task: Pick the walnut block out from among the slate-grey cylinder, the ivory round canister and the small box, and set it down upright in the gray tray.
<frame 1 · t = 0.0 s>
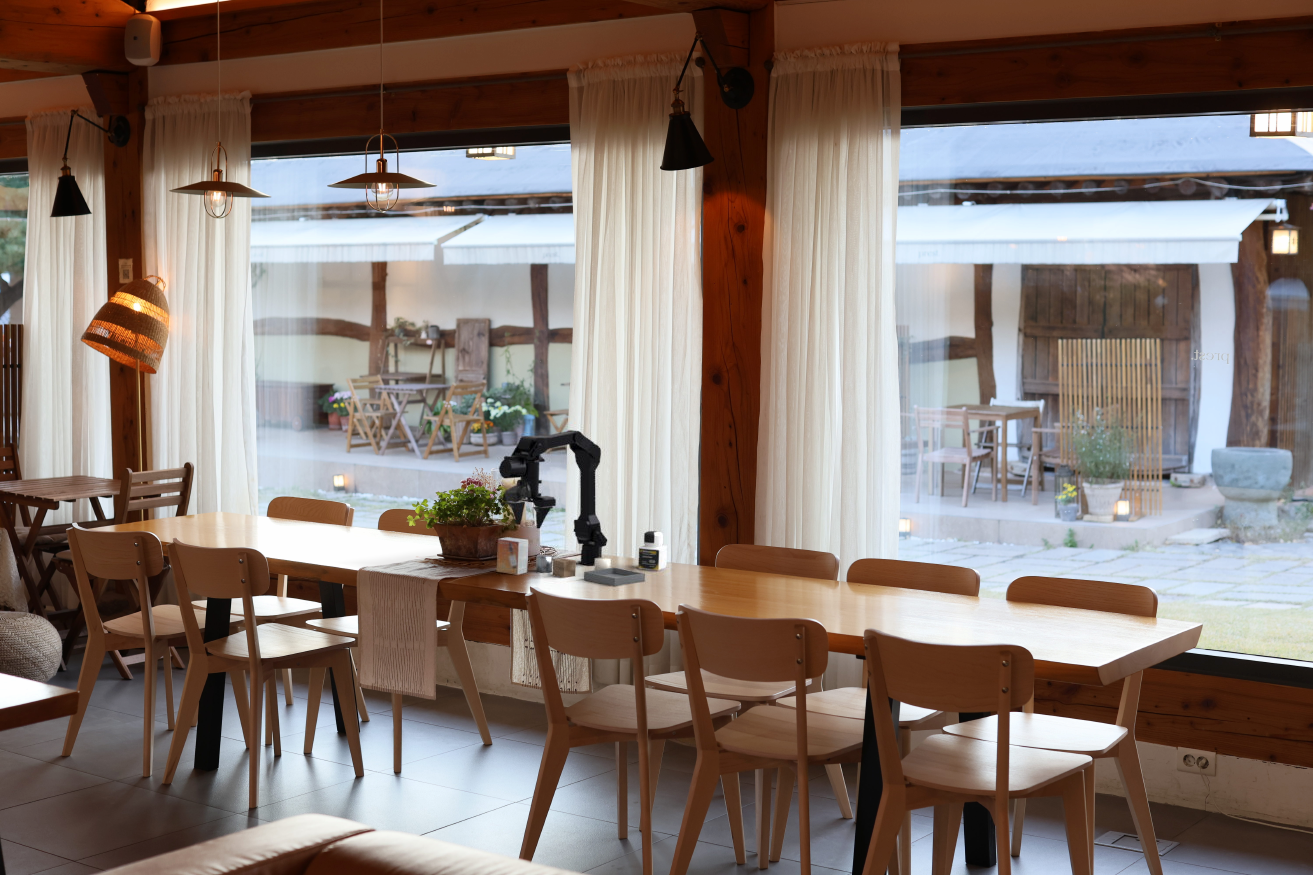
hand: (528, 526, 401), 15 cm above the table, tool pointing down, fingers open, 9 cm apart
small box: (512, 572, 403), on the table
gray tray: (614, 580, 395), on the table
ivory round canister: (602, 574, 404), on the table
slate cylinder: (544, 571, 406), on the table
medicine bottle: (652, 568, 418), on the table
walnut block: (563, 576, 400), on the table
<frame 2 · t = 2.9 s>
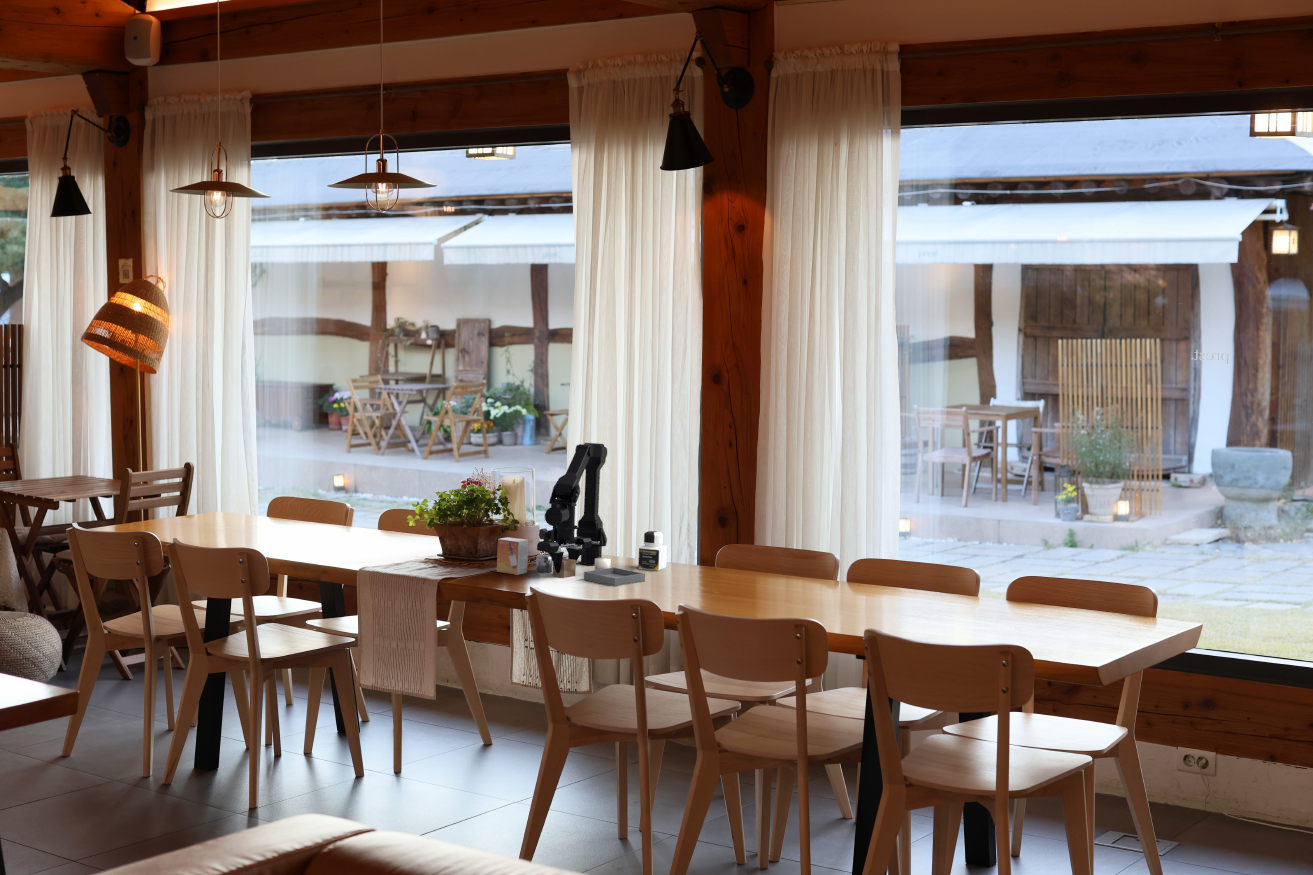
hand: (564, 571, 400), 1 cm above the table, tool pointing down, fingers closed on walnut block, 5 cm apart
walnut block: (563, 575, 400), on the table, touching gripper
everything else where it was.
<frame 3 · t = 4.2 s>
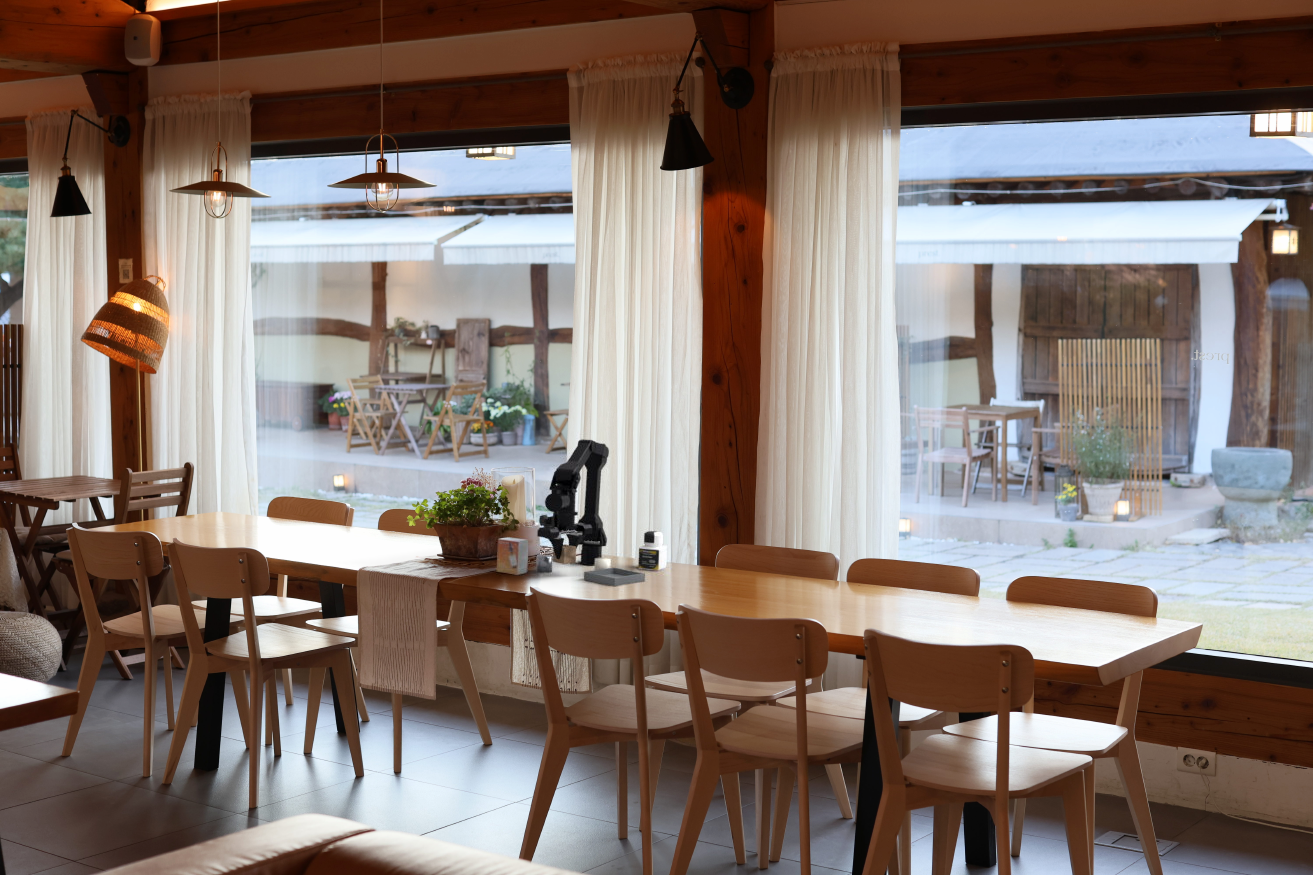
hand: (564, 558, 399), 5 cm above the table, tool pointing down, fingers closed on walnut block, 5 cm apart
walnut block: (564, 562, 400), point 4 cm above the table, touching gripper
everything else where it was.
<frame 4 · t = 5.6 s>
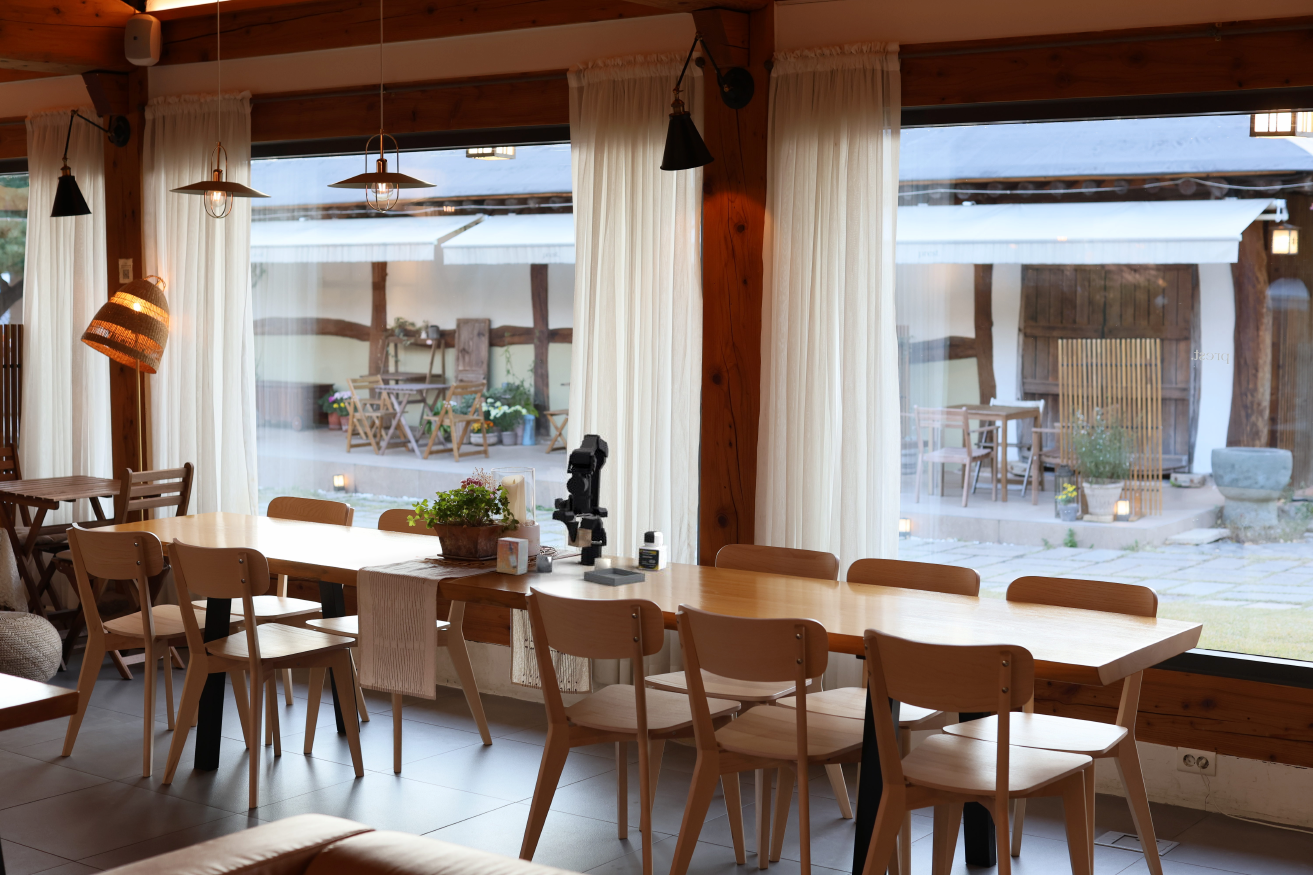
hand: (579, 541, 398), 11 cm above the table, tool pointing down, fingers closed on walnut block, 5 cm apart
walnut block: (579, 545, 398), point 10 cm above the table, touching gripper
everything else where it was.
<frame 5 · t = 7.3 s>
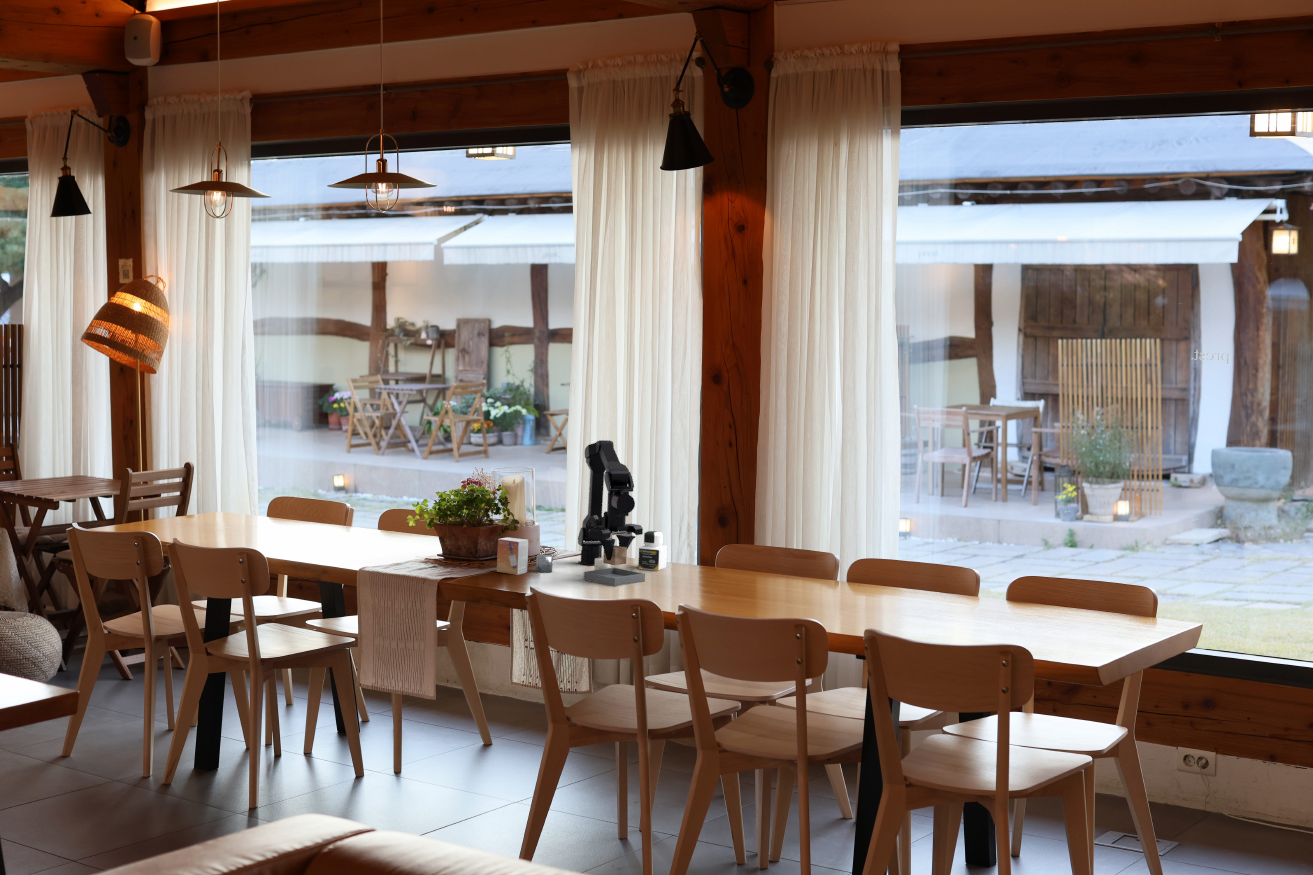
hand: (614, 559, 395), 7 cm above the table, tool pointing down, fingers closed on walnut block, 5 cm apart
walnut block: (614, 563, 395), point 5 cm above the table, touching gripper
everything else where it was.
when the fingers open (4 cm above the table, at t = 8.6 s): walnut block drops 2 cm, resting on gray tray.
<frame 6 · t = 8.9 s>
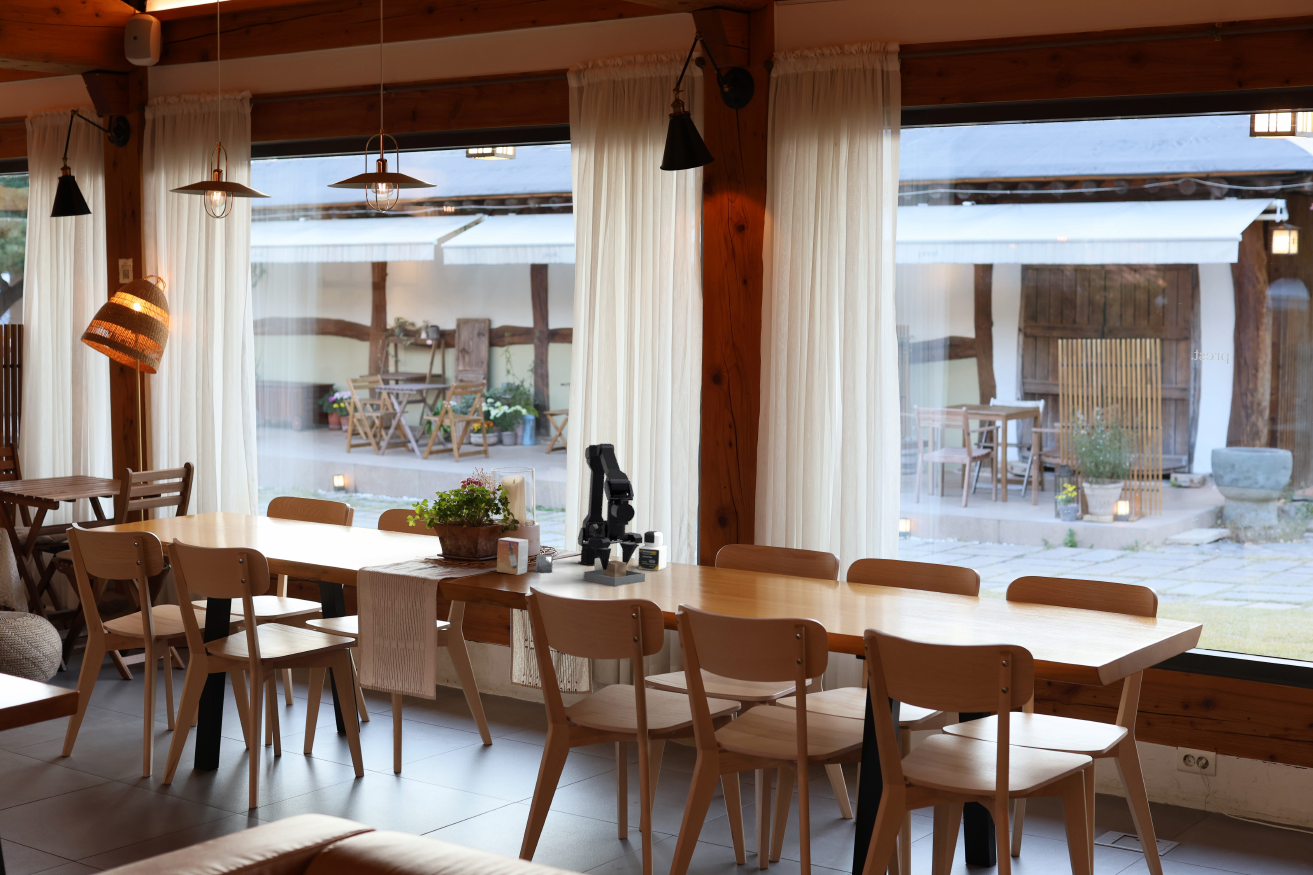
hand: (614, 568, 395), 4 cm above the table, tool pointing down, fingers open, 8 cm apart
walnut block: (614, 578, 395), point 1 cm above the table, touching gray tray
everything else where it was.
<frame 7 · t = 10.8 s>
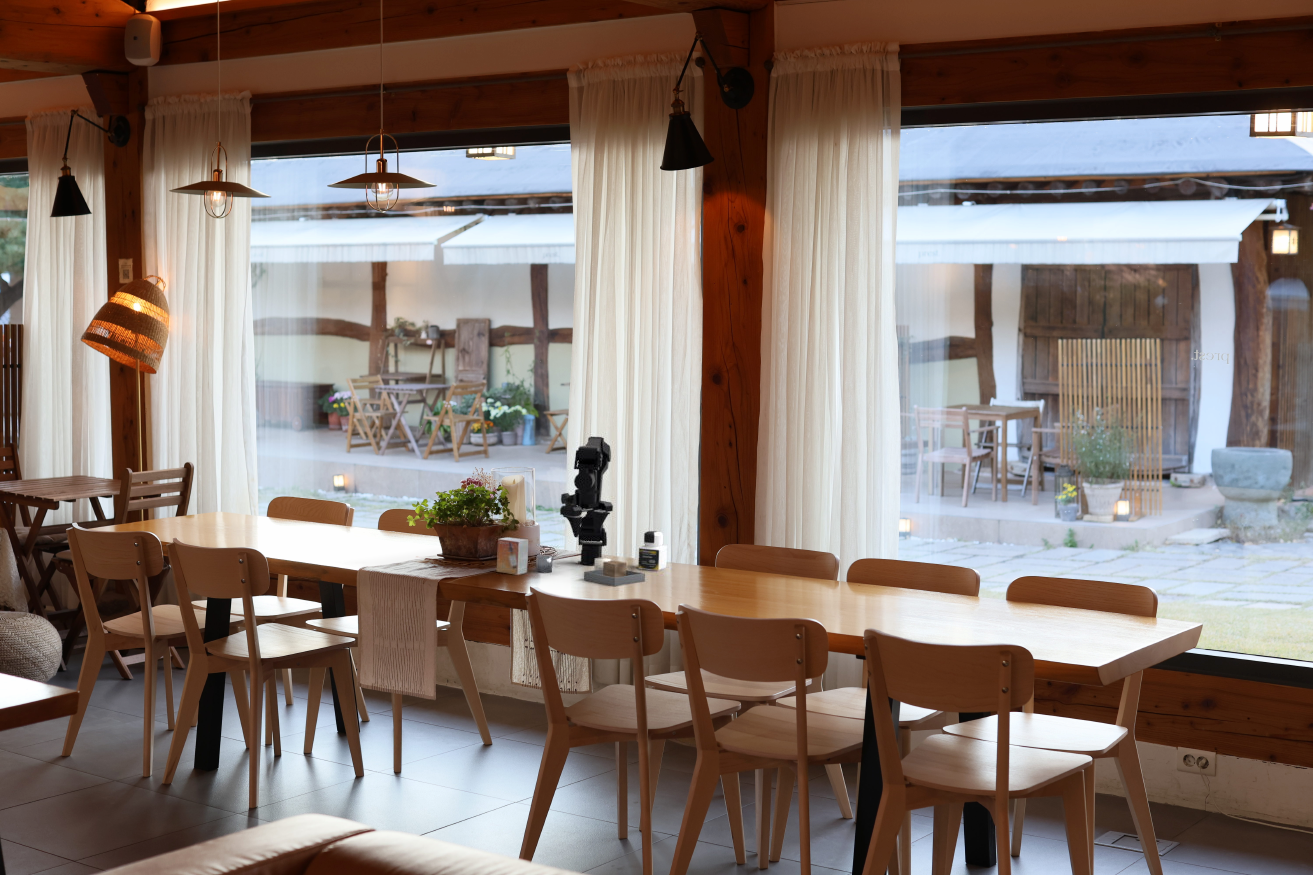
hand: (586, 535, 406), 12 cm above the table, tool pointing down, fingers open, 9 cm apart
nothing on the table moved.
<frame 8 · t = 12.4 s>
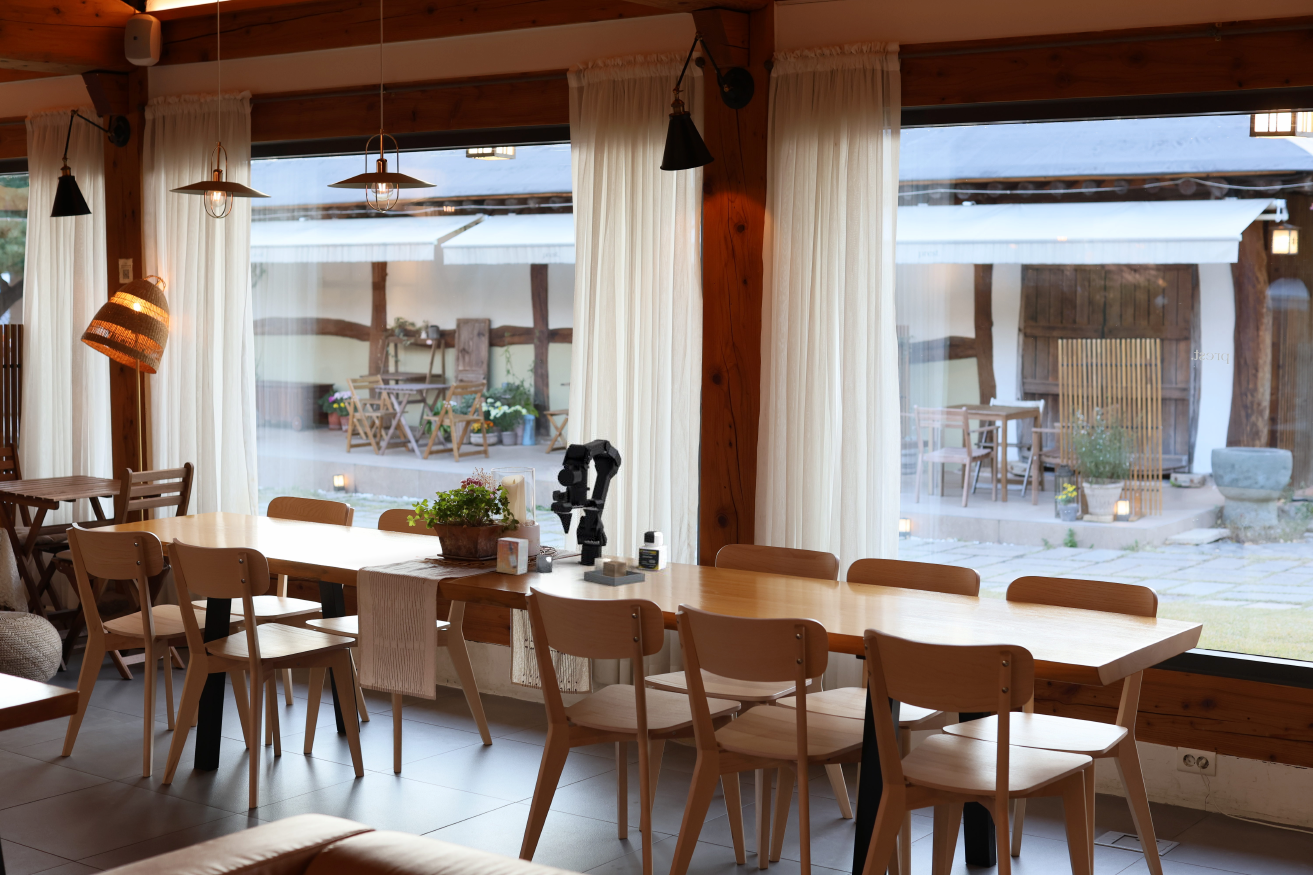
hand: (576, 532, 410), 12 cm above the table, tool pointing down, fingers open, 9 cm apart
nothing on the table moved.
at the end: walnut block inside the target area on the gray tray (0.0 cm from its centre), point 0.6 cm above the gray tray's base; walnut block tilted 0°; the gripper is holding nothing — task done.
